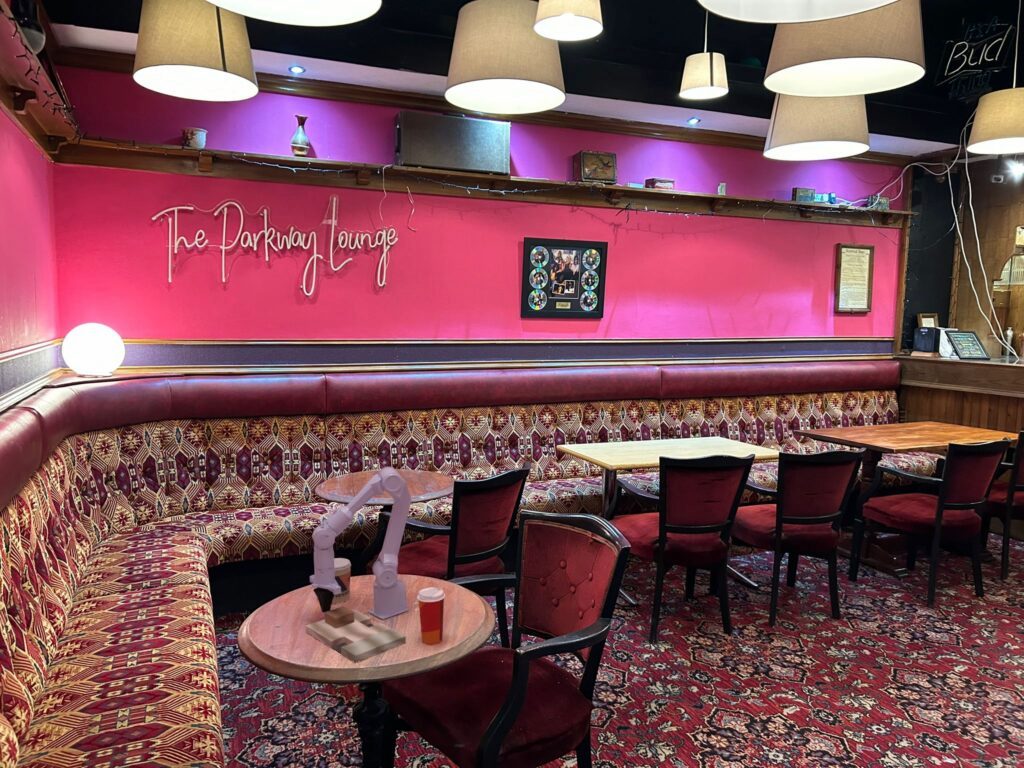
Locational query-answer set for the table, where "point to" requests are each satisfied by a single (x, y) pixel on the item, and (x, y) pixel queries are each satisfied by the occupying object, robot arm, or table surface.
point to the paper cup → (431, 615)
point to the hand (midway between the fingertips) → (326, 611)
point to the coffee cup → (342, 579)
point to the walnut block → (339, 617)
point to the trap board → (357, 637)
